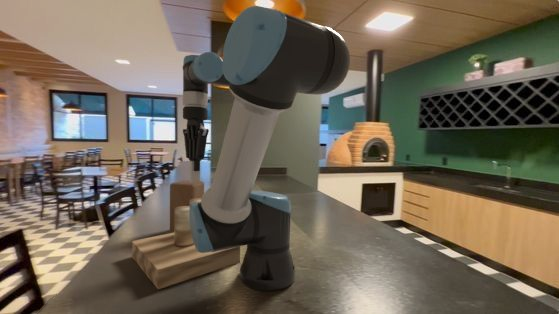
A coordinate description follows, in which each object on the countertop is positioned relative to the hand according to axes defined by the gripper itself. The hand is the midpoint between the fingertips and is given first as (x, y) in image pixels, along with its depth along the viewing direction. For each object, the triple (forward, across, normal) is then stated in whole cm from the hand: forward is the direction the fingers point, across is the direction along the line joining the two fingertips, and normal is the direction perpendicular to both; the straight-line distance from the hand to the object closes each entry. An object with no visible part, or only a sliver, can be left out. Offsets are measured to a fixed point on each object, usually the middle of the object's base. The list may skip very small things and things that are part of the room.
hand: (194, 181), depth 87 cm
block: (+24, +21, -8) cm, 32 cm away
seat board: (+24, -3, +4) cm, 24 cm away
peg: (+23, -3, +4) cm, 24 cm away
